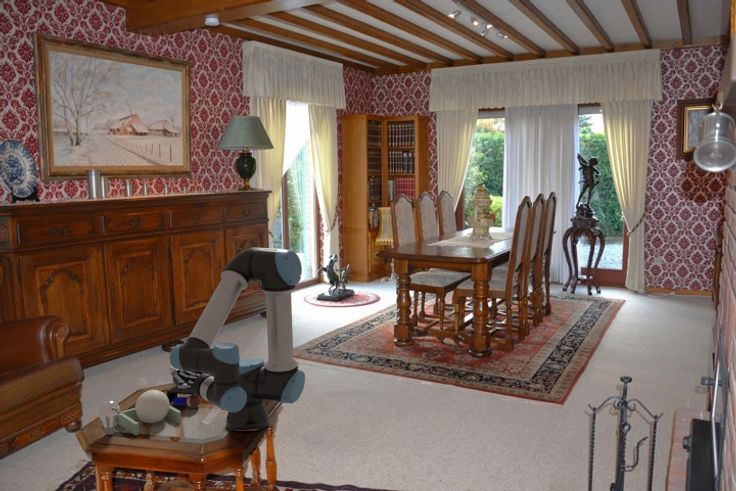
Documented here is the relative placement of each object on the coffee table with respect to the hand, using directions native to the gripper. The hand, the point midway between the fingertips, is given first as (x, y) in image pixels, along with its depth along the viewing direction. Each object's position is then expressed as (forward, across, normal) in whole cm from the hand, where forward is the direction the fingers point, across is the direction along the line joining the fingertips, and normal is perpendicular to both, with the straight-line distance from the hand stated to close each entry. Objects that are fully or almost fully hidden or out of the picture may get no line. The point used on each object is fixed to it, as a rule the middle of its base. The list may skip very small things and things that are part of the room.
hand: (171, 369), depth 207 cm
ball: (+17, +1, -18) cm, 25 cm away
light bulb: (+16, -15, -24) cm, 32 cm away
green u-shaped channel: (+16, 0, -24) cm, 29 cm away
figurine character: (+24, +16, -24) cm, 38 cm away
